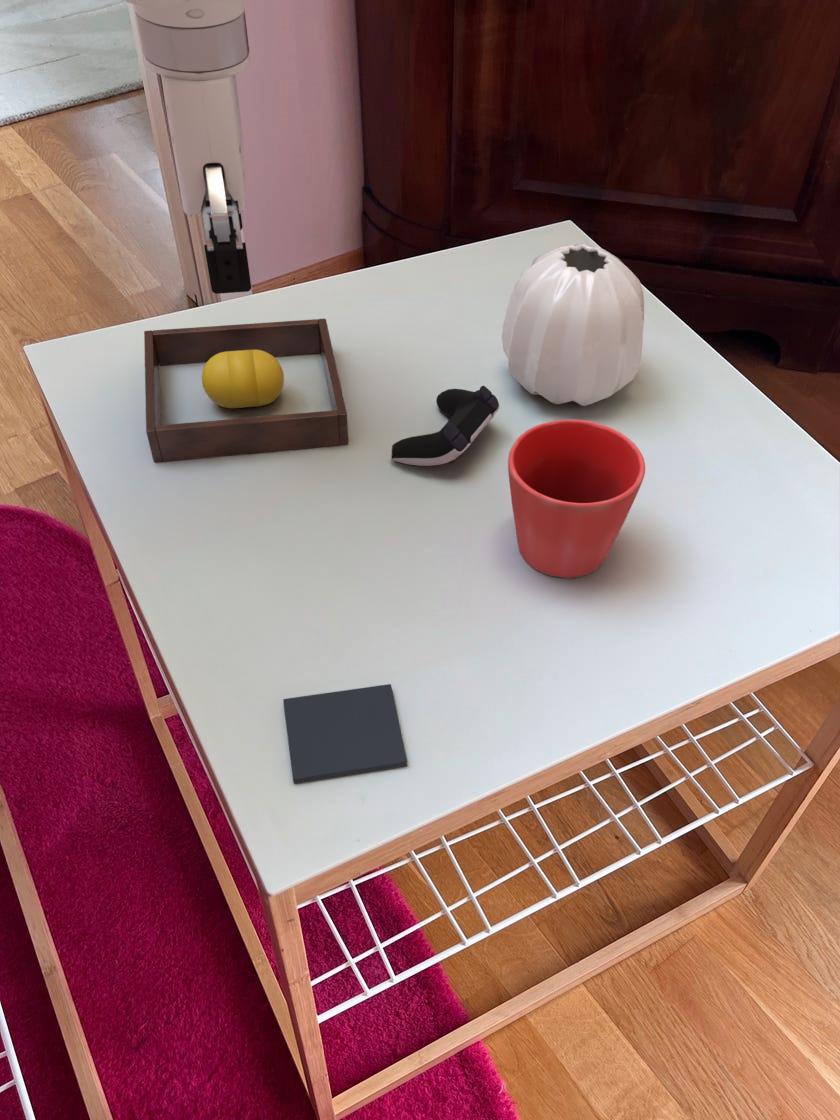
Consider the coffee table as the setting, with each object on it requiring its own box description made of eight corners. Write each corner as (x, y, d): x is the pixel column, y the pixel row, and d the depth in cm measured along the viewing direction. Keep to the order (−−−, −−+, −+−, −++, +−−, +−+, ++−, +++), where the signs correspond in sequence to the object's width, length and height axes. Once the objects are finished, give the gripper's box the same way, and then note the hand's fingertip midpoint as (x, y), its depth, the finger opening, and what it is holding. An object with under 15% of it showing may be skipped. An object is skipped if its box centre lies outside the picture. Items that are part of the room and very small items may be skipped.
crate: (153, 462, 88) (145, 431, 86) (150, 361, 98) (144, 330, 95) (348, 444, 92) (347, 414, 89) (327, 348, 101) (325, 318, 98)
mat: (293, 784, 68) (293, 779, 68) (283, 703, 72) (283, 698, 72) (407, 766, 70) (407, 761, 69) (390, 688, 74) (390, 683, 73)
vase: (541, 327, 106) (556, 206, 96) (656, 374, 102) (685, 253, 92) (472, 388, 98) (481, 264, 88) (593, 442, 94) (618, 318, 84)
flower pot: (488, 509, 87) (497, 420, 80) (607, 501, 89) (626, 413, 81) (510, 597, 81) (522, 509, 73) (638, 586, 82) (662, 500, 75)
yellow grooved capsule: (207, 421, 92) (199, 375, 88) (204, 388, 96) (196, 342, 92) (289, 414, 94) (284, 368, 90) (283, 382, 97) (278, 336, 93)
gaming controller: (412, 490, 91) (462, 468, 86) (382, 452, 90) (432, 428, 85) (464, 427, 98) (514, 403, 93) (438, 390, 96) (487, 364, 91)
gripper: (139, -6, 75) (179, 211, 88) (141, 90, 64) (186, 320, 78) (239, -7, 76) (263, 206, 90) (257, 87, 66) (282, 313, 79)
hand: (228, 259), depth 84 cm, fingers open, 9 cm apart
